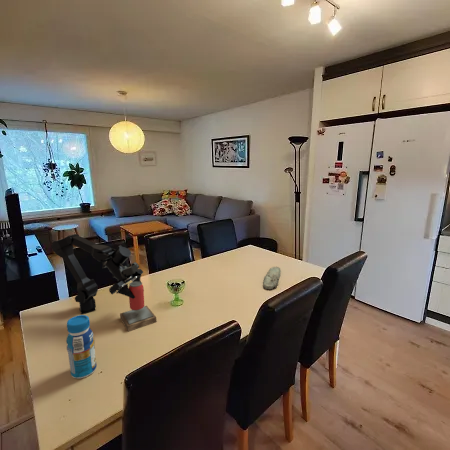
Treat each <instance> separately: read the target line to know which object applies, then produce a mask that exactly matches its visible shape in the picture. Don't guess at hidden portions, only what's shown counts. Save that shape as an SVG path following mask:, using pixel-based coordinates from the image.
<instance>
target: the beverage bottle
mask: <svg viewBox="0 0 450 450" xmlns="http://www.w3.org/2000/svg"><path fill="white" fill-rule="evenodd" d="M90 322H91V321H90V318H89V316H88V315H86V314H85V315H84V314H80V315H75V316H73V317H70V318H69V319H68V320H67V321H66V328H67V332H68V335H66V336H67V337H66V341H65V342H66V344H67V345H66V350H67V354H68V362H69V367H70V368H69V369H70V376H71V377H72V378H73V379H84V378H87V377H89V376H90V375H92V374H93V373H94V372H95V371H96V369H97V359H96V347H95V338H94V332H93V330H92V329H91V328H90V326H91V323H90Z"/></svg>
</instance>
